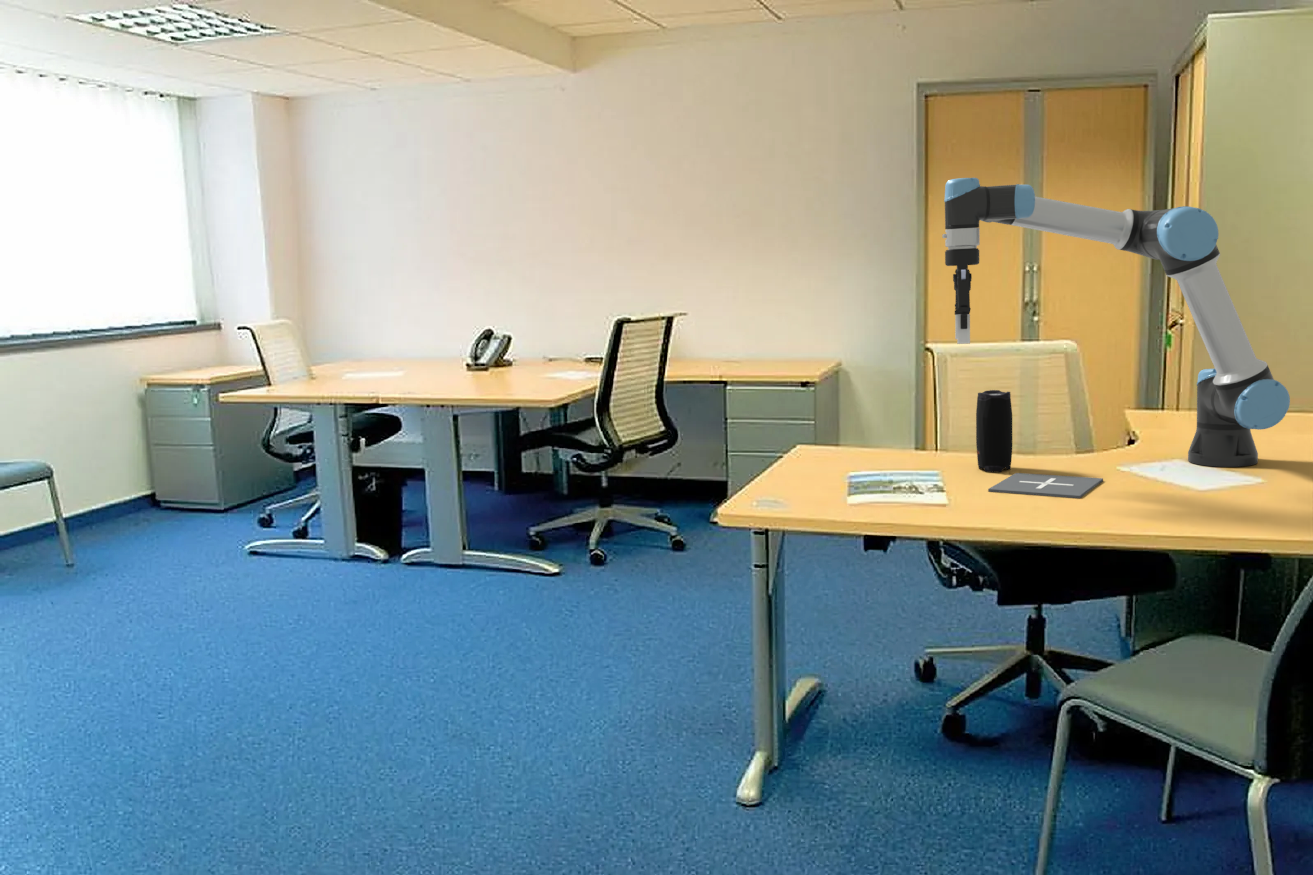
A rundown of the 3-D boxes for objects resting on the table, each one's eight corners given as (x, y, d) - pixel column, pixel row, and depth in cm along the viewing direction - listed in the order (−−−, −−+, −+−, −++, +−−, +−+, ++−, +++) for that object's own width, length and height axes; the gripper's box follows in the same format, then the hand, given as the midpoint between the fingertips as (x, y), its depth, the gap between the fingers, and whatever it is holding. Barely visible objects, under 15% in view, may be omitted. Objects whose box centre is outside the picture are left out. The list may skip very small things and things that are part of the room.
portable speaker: (978, 473, 267) (977, 394, 264) (975, 466, 277) (974, 390, 274) (1014, 472, 266) (1014, 393, 263) (1010, 465, 275) (1009, 388, 272)
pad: (1103, 480, 251) (1103, 478, 251) (1079, 498, 235) (1079, 495, 235) (1016, 475, 263) (1016, 472, 263) (988, 491, 247) (988, 488, 247)
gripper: (943, 248, 260) (944, 337, 263) (946, 248, 236) (947, 346, 239) (976, 247, 258) (976, 336, 262) (982, 246, 234) (982, 345, 238)
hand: (962, 341), depth 251 cm, fingers open, 13 cm apart
